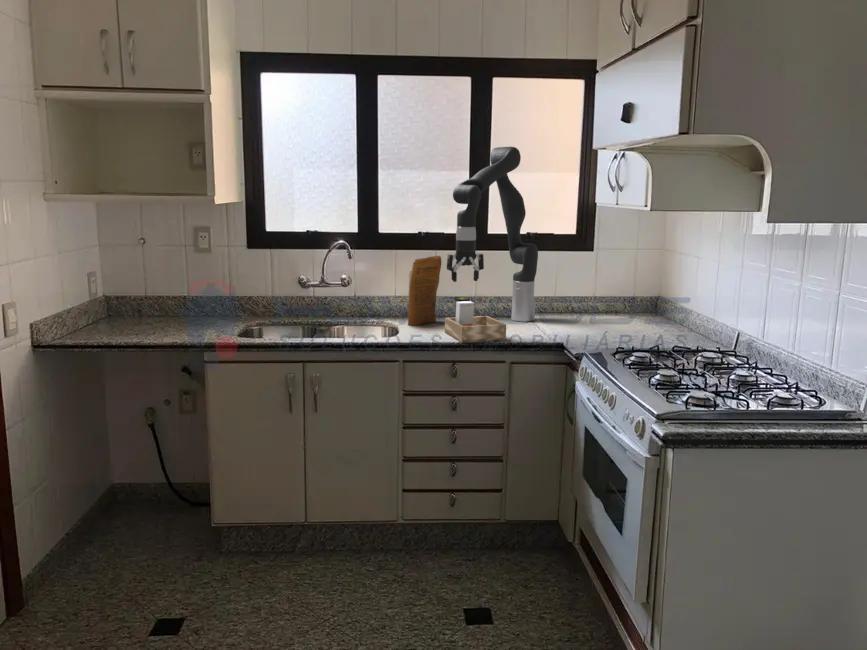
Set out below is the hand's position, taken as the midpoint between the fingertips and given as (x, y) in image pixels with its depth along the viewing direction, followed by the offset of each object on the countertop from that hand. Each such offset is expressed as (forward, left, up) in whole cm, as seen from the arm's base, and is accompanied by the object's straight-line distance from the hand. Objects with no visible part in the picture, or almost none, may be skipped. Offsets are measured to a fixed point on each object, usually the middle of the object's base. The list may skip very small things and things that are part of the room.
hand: (465, 281), depth 277 cm
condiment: (-4, -15, -22) cm, 27 cm away
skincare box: (0, 0, -20) cm, 20 cm away
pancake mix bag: (+8, -26, -21) cm, 35 cm away
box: (-3, +3, -21) cm, 22 cm away
